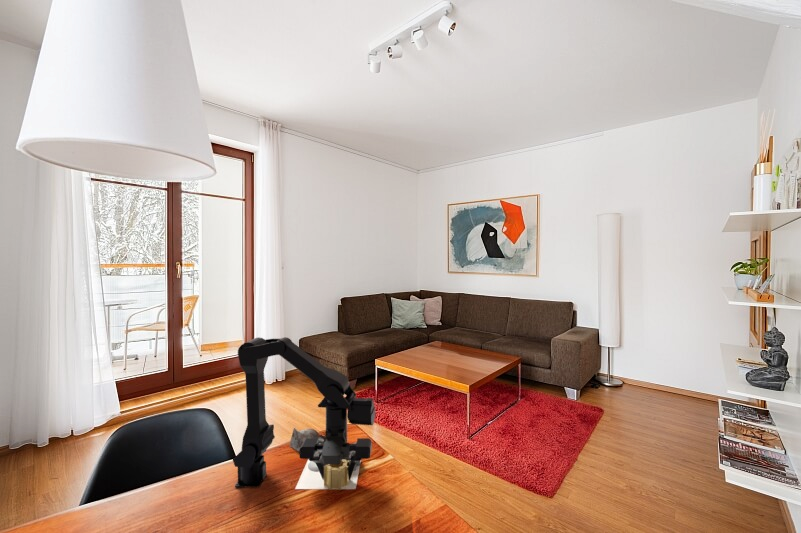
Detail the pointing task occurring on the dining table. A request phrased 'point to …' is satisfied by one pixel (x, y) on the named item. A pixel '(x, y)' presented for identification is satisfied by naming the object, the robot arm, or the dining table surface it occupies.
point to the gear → (356, 462)
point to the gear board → (314, 480)
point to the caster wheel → (304, 437)
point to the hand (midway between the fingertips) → (336, 478)
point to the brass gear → (336, 475)
